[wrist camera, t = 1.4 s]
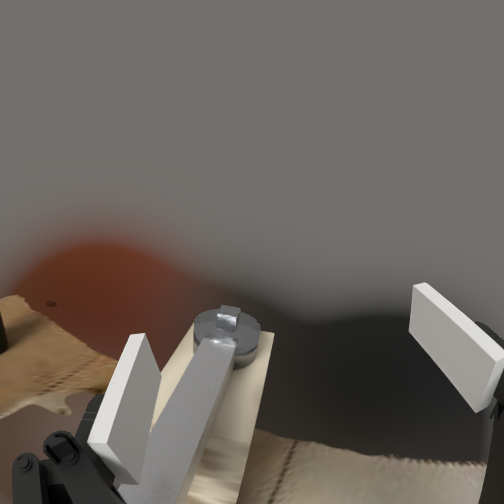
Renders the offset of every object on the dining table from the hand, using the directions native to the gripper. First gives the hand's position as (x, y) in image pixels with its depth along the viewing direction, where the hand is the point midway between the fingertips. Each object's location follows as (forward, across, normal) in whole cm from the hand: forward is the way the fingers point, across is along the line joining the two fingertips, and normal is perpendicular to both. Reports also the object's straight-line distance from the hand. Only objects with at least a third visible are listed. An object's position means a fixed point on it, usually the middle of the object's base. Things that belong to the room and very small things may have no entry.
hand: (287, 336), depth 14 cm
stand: (+11, +15, +43) cm, 47 cm away
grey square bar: (+5, +7, +10) cm, 13 cm away
